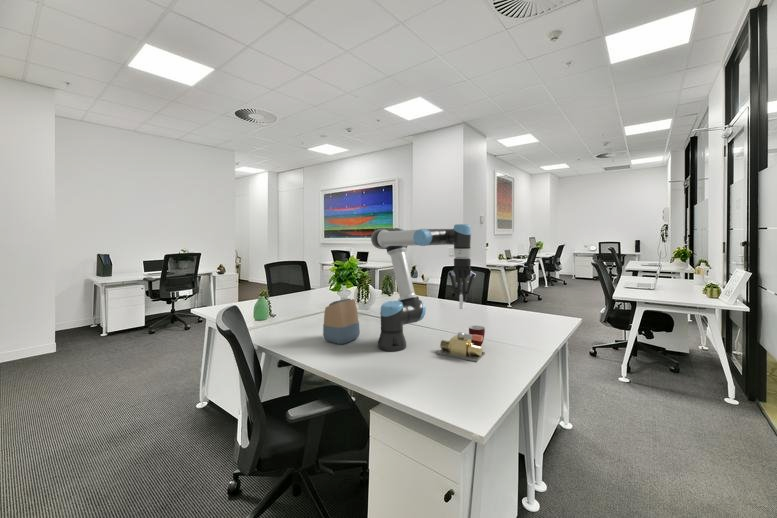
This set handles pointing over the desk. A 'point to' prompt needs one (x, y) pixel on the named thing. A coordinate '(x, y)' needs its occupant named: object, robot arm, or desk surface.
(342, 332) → the two-tone tapered canister
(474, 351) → the valve block
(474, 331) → the mug
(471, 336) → the lever
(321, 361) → the desk surface
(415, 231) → the robot arm
